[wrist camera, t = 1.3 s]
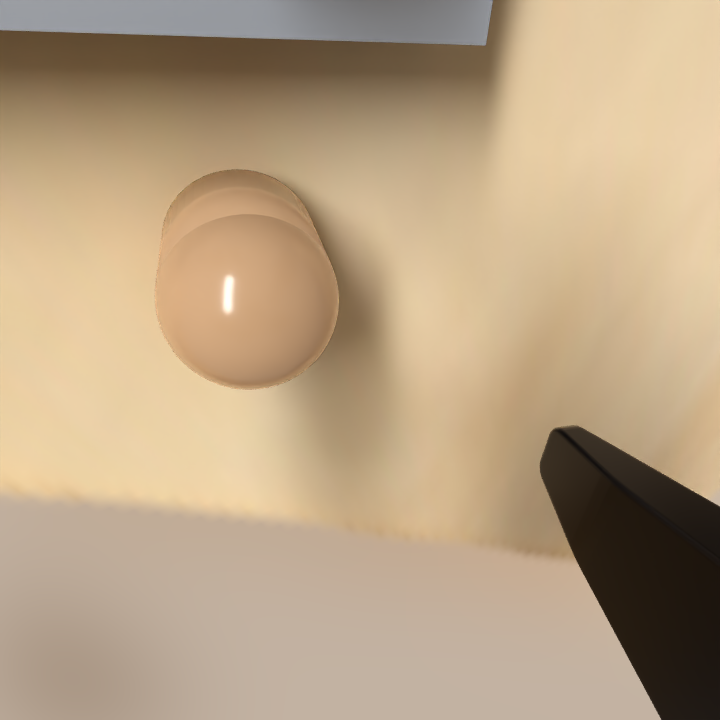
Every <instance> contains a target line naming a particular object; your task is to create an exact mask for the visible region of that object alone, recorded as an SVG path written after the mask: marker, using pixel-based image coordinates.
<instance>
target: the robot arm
mask: <svg viewBox="0 0 720 720" xmlns="http://www.w3.org/2000/svg"><path fill="white" fill-rule="evenodd" d="M540 473H541V477H542V479H543V482H544V484H545V487H546V489H547V492H548V494H549V496H550V499H551V501H552V504H553V506H554V509H555V511H556V513H557V516H558V518H559V521H560V523H561V526H562V528H563V530H564V533H565V535H566V538H567V540H568V543H569V545H570V547H571V549H572V552H573V554H574V556H575V558H576V560H577V562H578V564H579V566H580V568H581V570H582V572H583V574H584V576H585V578H586V580H587V582H588V583H589V585H590V587H591V589H592V591H593V593H594V595H595V597H596V598H597V600H598V602H599V604H600V606H601V608H602V610H603V611H604V613H605V615H606V617H607V619H608V621H609V623H610V625H611V626H612V628H613V630H614V632H615V634H616V636H617V638H618V640H619V641H620V643H621V645H622V647H623V649H624V650H625V652H626V654H627V656H628V658H629V660H630V662H631V664H632V666H633V668H634V669H635V671H636V673H637V675H638V677H639V679H640V681H641V682H642V684H643V686H644V688H645V690H646V692H647V694H648V695H649V697H650V699H651V701H652V703H653V705H654V707H655V708H656V711H657V712H658V714H659V716H660V718H661V720H720V506H718V505H716V504H715V503H713V502H711V501H709V500H708V499H706V498H704V497H702V496H701V495H699V494H697V493H695V492H694V491H692V490H690V489H688V488H687V487H685V486H683V485H681V484H680V483H678V482H676V481H674V480H673V479H671V478H669V477H667V476H666V475H664V474H662V473H660V472H659V471H657V470H655V469H653V468H652V467H650V466H648V465H646V464H645V463H643V462H641V461H639V460H638V459H636V458H634V457H632V456H631V455H629V454H627V453H625V452H624V451H622V450H620V449H618V448H617V447H615V446H613V445H611V444H610V443H608V442H606V441H604V440H603V439H601V438H599V437H597V436H596V435H594V434H592V433H590V432H589V431H587V430H585V429H583V428H581V427H579V426H574V425H573V426H565V427H558V428H555V429H553V430H552V431H551V433H550V435H549V438H548V440H547V443H546V446H545V449H544V452H543V455H542V458H541V461H540Z"/></svg>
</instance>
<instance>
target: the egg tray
mask: <svg viewBox="0 0 720 720" xmlns="http://www.w3.org/2000/svg"><path fill="white" fill-rule="evenodd" d="M492 3H493V0H0V30H12V31H43V32H75V33H107V34H138V35H170V36H202V37H233V38H265V39H297V40H328V41H360V42H392V43H423V44H455V45H486V41H487V35H488V28H489V22H490V16H491V9H492Z"/></svg>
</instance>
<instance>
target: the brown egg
mask: <svg viewBox="0 0 720 720" xmlns="http://www.w3.org/2000/svg"><path fill="white" fill-rule="evenodd" d="M155 305H156V314H157V317H158V321H159V324H160V328H161V330H162V333H163V335H164V337H165V339H166V341H167V342H168V344H169V346H170V347H171V349H172V350H173V352H174V353H175V354H176V355H177V357H178V358H179V359H180V360H181V361H182V362H183V363H184V364H185V365H186V366H188V367H189V368H190V369H191V370H192V371H194V372H195V373H197V374H198V375H199V376H201V377H203V378H205V379H207V380H209V381H211V382H214V383H216V384H219V385H222V386H226V387H230V388H235V389H246V390H253V389H263V388H269V387H273V386H276V385H279V384H282V383H285V382H287V381H289V380H291V379H293V378H295V377H296V376H298V375H299V374H301V373H302V372H304V371H305V370H306V369H307V368H308V367H310V366H311V365H312V364H313V363H314V362H315V361H316V360H317V359H318V358H319V356H320V355H321V354H322V352H323V351H324V349H325V348H326V346H327V344H328V342H329V341H330V339H331V337H332V334H333V332H334V329H335V325H336V321H337V317H338V310H339V290H338V284H337V279H336V276H335V273H334V270H333V267H332V264H331V262H330V260H329V258H328V255H327V253H326V251H325V249H324V247H323V244H322V242H321V240H320V238H319V236H318V233H317V231H316V229H315V227H314V225H313V222H312V220H311V218H310V216H309V214H308V212H307V210H306V208H305V206H304V205H303V203H302V202H301V200H300V199H299V198H298V197H297V196H296V195H295V194H294V192H293V191H291V190H290V189H289V188H288V187H287V186H285V185H284V184H282V183H281V182H279V181H278V180H276V179H274V178H272V177H270V176H267V175H265V174H262V173H258V172H254V171H249V170H224V171H219V172H215V173H212V174H209V175H206V176H203V177H202V178H200V179H198V180H196V181H194V182H193V183H191V184H190V185H189V186H187V187H186V188H185V189H184V190H183V191H182V192H181V193H180V194H179V195H178V196H177V197H176V199H175V200H174V201H173V203H172V204H171V206H170V208H169V210H168V212H167V215H166V217H165V220H164V225H163V230H162V237H161V245H160V254H159V262H158V270H157V278H156V287H155Z"/></svg>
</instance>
